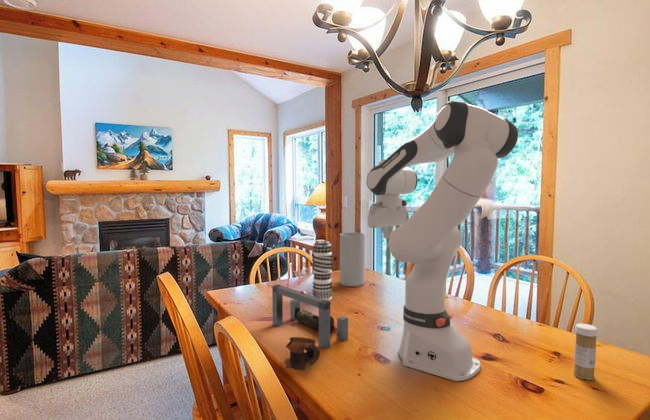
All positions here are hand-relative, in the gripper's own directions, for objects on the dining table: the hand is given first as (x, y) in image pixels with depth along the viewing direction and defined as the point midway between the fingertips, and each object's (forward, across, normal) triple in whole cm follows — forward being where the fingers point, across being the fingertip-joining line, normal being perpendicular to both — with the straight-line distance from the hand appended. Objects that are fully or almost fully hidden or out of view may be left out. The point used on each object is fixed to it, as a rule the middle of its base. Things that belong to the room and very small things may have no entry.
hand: (387, 237), depth 142 cm
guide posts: (+29, -31, +6) cm, 43 cm away
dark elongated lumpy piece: (+30, -30, +6) cm, 43 cm away
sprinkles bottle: (+29, -2, -65) cm, 71 cm away
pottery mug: (+29, -50, -10) cm, 59 cm away
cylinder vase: (+29, +21, +37) cm, 52 cm away
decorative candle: (+29, -6, +30) cm, 42 cm away
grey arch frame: (+29, -39, +6) cm, 49 cm away
